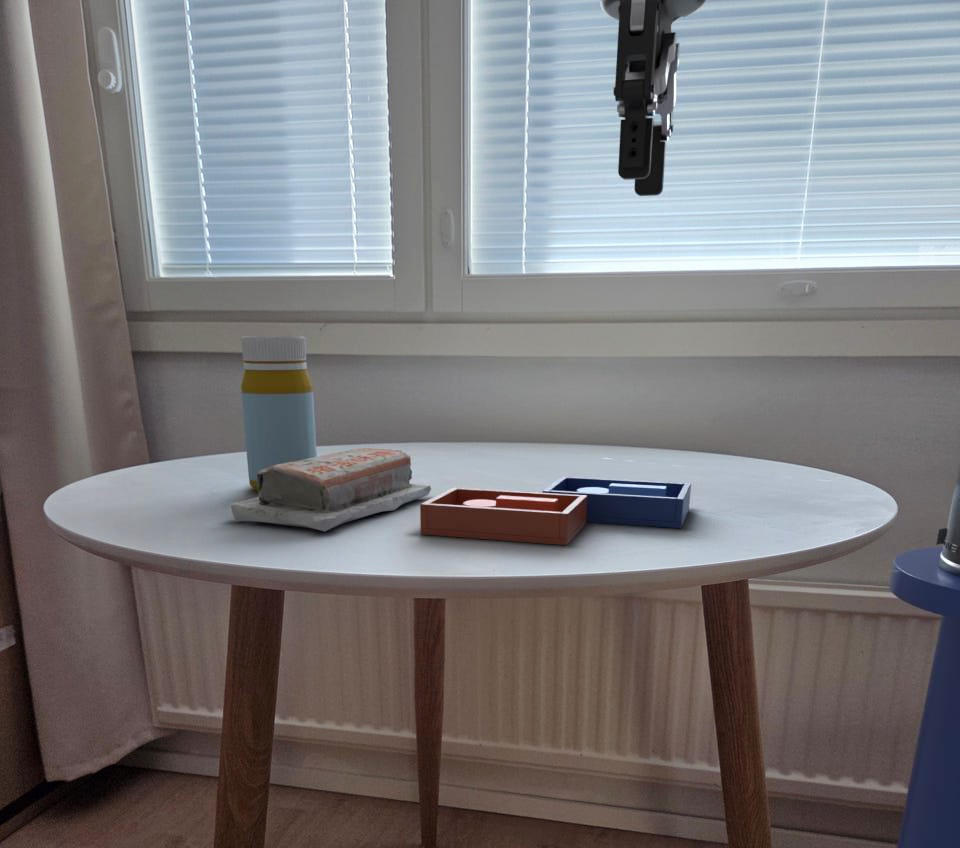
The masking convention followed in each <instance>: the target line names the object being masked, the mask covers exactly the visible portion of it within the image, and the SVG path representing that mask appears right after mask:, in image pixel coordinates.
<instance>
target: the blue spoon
mask: <svg viewBox="0 0 960 848" xmlns="http://www.w3.org/2000/svg"><path fill="white" fill-rule="evenodd" d="M577 492H588V493H605V494H622V495H640V496H657V497H666V493H667V486H653V485H634V484H616V483H611V484H610V485H609V489H606V488H599V487H586V488H579V489H577Z"/></svg>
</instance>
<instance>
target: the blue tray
mask: <svg viewBox="0 0 960 848" xmlns="http://www.w3.org/2000/svg"><path fill="white" fill-rule="evenodd" d="M611 483H616V484H634V485H653V486H667V493H666V497H657V496H640V495H622V494H605V493H588V492H577V489H579V488H586V487H599V488H606V489H609V485H610V484H611ZM691 491H692V483H689V482H685V483H684V482H675V481H674V482H673V481H671V482H670V481H656V480H655V481H653V480H636V479H634V480H633V479H617V478H616V479H615V478H600V477H599V478H597V477H596V478H595V477H581V476H580V477H578V476H576V477H575V476H561V477H559V478H558V479H557V480H555V481H554V482H552V483H551V484H549V485H548V486H547V487H545V488H544V489H543V490H542V491H541V493H555V494H572V495H587V515H586V523H594V524H595V523H597V524H611V525H625V526H639V527H640V526H641V527H653V528H654V527H657V528H670V529H682V527H683V524H684V522H685V520H686V518H687V515H688V513H689V511H690V504H691V503H690V502H691Z"/></svg>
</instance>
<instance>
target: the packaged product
mask: <svg viewBox="0 0 960 848" xmlns="http://www.w3.org/2000/svg"><path fill="white" fill-rule="evenodd" d="M411 465H412V462H411V456H410V455H409V454H407V453H405V452H403V451H402V450H400V449H384V448H369V447H368V448H367V447H366V448H356V449H350V450H345V451H340V452H334V453H329V454H328V453H327V454H324V455H319V456H317V457H314V458H309V459H304V460H299V461H293V462H288V463H283V464H277V465H274V466H270V467H268V468H265V469H263V470H260V471H259V473H258V474H257V478H256V480H257V485H258V491H259V492H258V496H256V497H252V498H249V499H243V500H240V501H235V502H231V503H230V505H229V506H230V509H231V513H232V517H233V520H234V521H239V522H240V521H242V522H258V523H266V524H274V525H282V526H289V527H297V528H305V529H311V530H318V531H321V532H327V531H329V530H332V529H334V528H336V527H339V526H340V525H343V524H345V523H349V522H352V521H356V520H359V519H362V518H365V517H368V516H372V515H374V514H379V513H381V512H390V511H395V510H396V509H398V508H399V507H400V506H403V505H405V504H408V503H411V502H413V501H416V500H418V499H422V498H424V497H428V496H429V495H430V493H431V490H432V486H431V485H423V484H414V483H410V481H411V480H412V479H413V475H412V474H413V470H412V468H411Z"/></svg>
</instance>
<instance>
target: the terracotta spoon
mask: <svg viewBox="0 0 960 848" xmlns="http://www.w3.org/2000/svg"><path fill="white" fill-rule="evenodd" d="M463 506H476V507H492V508H507V509H522V510H538V511H553V512H558V499H551V498H534V497H518V496H502V495H501V496H499V497H497V498H496V501H494V500H484V499H479V500H469V501H465V502H463Z"/></svg>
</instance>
